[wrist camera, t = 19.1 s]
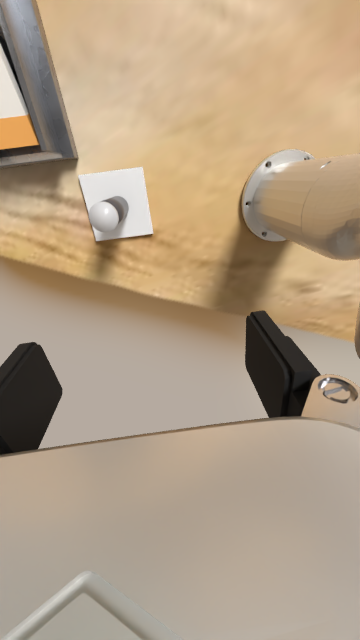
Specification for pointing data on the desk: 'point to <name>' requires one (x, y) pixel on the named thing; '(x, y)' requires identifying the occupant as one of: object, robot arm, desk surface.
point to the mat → (122, 185)
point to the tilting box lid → (13, 111)
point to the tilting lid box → (34, 85)
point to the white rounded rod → (108, 213)
